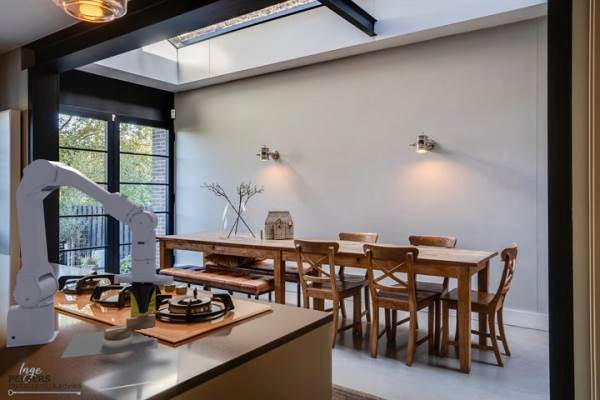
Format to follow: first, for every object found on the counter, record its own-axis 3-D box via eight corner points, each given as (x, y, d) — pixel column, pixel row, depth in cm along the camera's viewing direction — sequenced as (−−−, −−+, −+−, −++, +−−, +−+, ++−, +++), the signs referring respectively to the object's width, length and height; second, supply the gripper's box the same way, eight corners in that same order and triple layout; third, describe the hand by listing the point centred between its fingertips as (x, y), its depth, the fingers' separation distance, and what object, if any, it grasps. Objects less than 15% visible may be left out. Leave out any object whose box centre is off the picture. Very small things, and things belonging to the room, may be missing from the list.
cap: (106, 342, 96) (106, 325, 96) (102, 334, 101) (102, 319, 101) (158, 333, 103) (158, 317, 103) (151, 326, 108) (151, 311, 108)
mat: (60, 359, 91) (60, 358, 91) (74, 335, 106) (74, 334, 106) (157, 349, 98) (157, 347, 98) (157, 327, 113) (157, 326, 113)
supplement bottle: (147, 323, 116) (147, 277, 116) (125, 321, 117) (125, 276, 117) (160, 316, 123) (160, 272, 122) (139, 314, 124) (139, 271, 124)
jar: (101, 349, 96) (101, 342, 96) (105, 339, 102) (105, 333, 102) (131, 346, 98) (131, 339, 98) (133, 337, 105) (133, 330, 104)
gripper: (178, 256, 109) (177, 309, 109) (124, 255, 110) (124, 306, 110) (166, 261, 102) (166, 317, 102) (109, 259, 103) (109, 314, 103)
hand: (143, 312), depth 106 cm, fingers closed
